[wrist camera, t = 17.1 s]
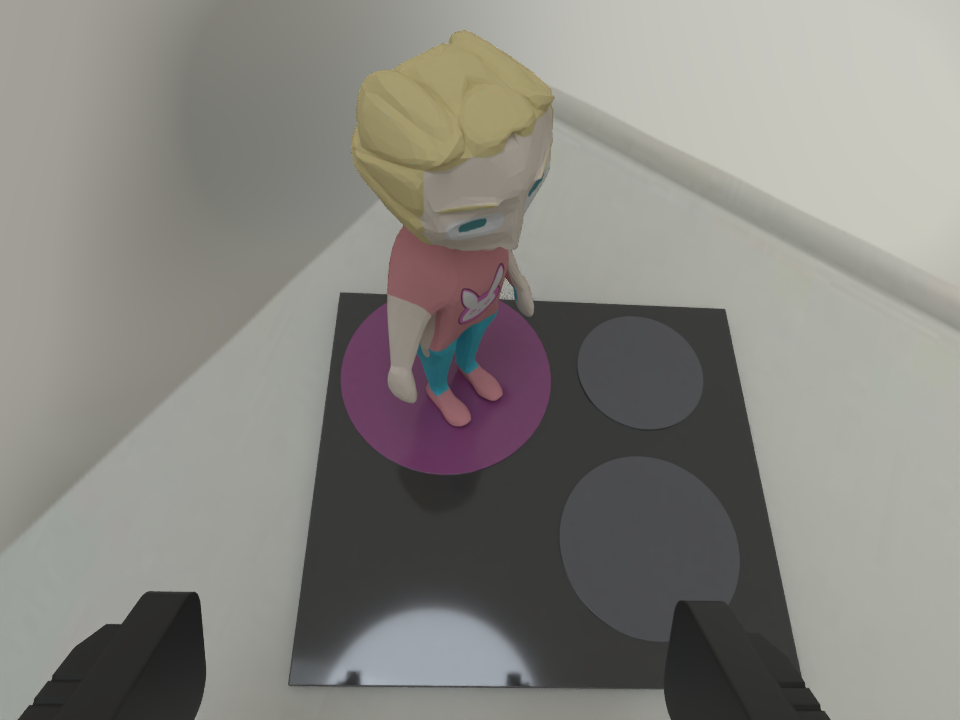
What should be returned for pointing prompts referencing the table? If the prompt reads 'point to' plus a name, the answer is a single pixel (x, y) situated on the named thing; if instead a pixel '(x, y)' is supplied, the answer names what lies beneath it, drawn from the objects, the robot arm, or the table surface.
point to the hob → (533, 505)
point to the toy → (452, 201)
